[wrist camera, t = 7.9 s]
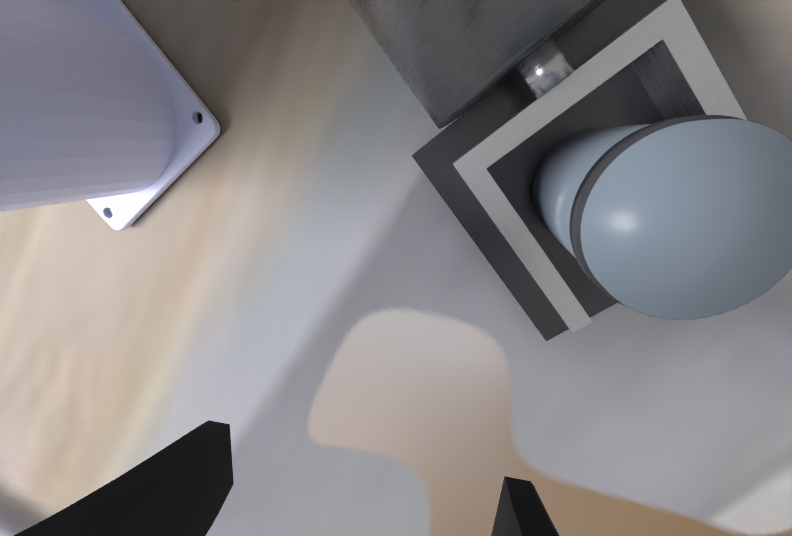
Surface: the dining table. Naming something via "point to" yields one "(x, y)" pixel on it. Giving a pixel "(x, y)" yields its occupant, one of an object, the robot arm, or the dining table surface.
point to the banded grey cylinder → (673, 211)
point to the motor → (538, 113)
